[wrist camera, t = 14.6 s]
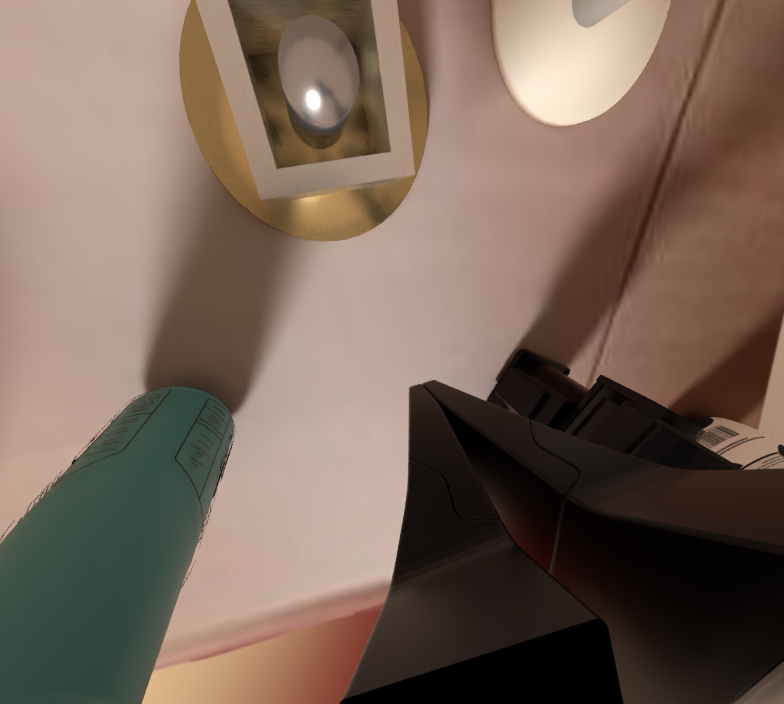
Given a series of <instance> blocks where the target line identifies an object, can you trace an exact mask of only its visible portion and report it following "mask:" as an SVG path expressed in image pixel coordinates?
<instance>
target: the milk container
mask: <svg viewBox="0 0 784 704" xmlns="http://www.w3.org/2000/svg"><path fill="white" fill-rule="evenodd" d="M690 422H691V423H693V424H695V425H696V426H698V427H699V428H701V429H703V430H704V431H705V432H707V434H706V435H705V436H704V437H703V438H702V439H701V440H700V441H699V443H700V444H702V445H704V446H705V447H707V448H709V449H710V450H712V451H714V452H715V453H717V454H719V455H721V456H722V457H724V458H726V459H727V460H729V461H731V462H732V463H734V464H736V465H737V466H738V467H740V468H741V469H742V470H744V469H778V468H784V446H783V445H782V444H780V443H779V442H777V441H776V440H774V439H773V438H771V437H769V436H768V435H765V434H764V433H762V432H760V431H758V430H755V429H753V428H751V427H748V426H746V425H743V424H740V423H737V422H734V421H731V420H728V419H724V418H717V417H704V418H699V419H696V420H692V421H690Z"/></svg>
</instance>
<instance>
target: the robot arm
mask: <svg viewBox="0 0 784 704" xmlns="http://www.w3.org/2000/svg"><path fill="white" fill-rule="evenodd" d="M523 355H524V356H523ZM569 373H570V369H569V368H568V367H566V366H564V365H561V364H559V363H557V362H554V361H552V360H550V359H547V358H545V357H543V356H540V355H538V354H536V353H533V352H531V351H529V350H526V349H521V350H520V351H519V352H518V354H517V355H516V357H515V358H514V360H513V362H512V363H511V365H510V366H509V368H508V370H507V371H506V373H505V374H504V376H503V377H502V379H501V381H500V382H499V384H498V385H497V387H496V389H495V390H494V392H493V393H492V395H491V397H490V398H489V400H488V401H484V400H482V399H480V398H477V397H475V396H472V395H470V394H467V393H465V392H462V391H460V390H458V389H455V388H453V387H450V386H448V385H445V384H443V383H441V382H438V381H436V380H432V381H429V382H425V383H423V384H418V385H415V386H411V387H410V388H409V453H408V460H409V462H408V486H407V495H406V503H405V510H404V516H403V522H402V528H401V534H400V539H399V545H398V551H397V557H396V562H395V567H394V572H393V576H392V581H391V584H390V588H389V591H388V595H387V598H386V600H385V602H384V605H383V607H382V609H381V612H380V614H379V616H378V619H377V621H376V623H375V626H374V628H373V630H372V633H371V635H370V637H369V640H368V642H367V644H366V647H365V649H364V651H363V654H362V656H361V658H360V661H359V663H358V665H357V668H356V670H355V672H354V674H353V677H352V679H351V681H350V684H349V686H348V688H347V691H346V692H345V694H344V696H343V698H342V700H341V702H340V704H784V468H778V469H744V470H742V469H741V468H740V467H738V466H737V465H736V464H734V463H732V462H731V461H729V460H727V459H726V458H724V457H722V456H721V455H719V454H717V453H715V452H714V451H712V450H710V449H709V448H707V447H705V446H704V445H702V444H700V443H699V441H700V440H701V439H702V438H703V437H704V436H705V435H706V434H707V432H705V431H704V430H703V429H701V428H699V427H698V426H696V425H695V424H693V423H691V422H690V421H688V420H686V419H685V418H683V417H681V416H680V415H678V414H676V413H674V412H672V411H671V410H669V409H667V408H665V407H664V406H662V405H660V404H658V403H656V402H654V401H652V400H651V399H649V398H647V397H645V396H643V395H641V394H639V393H637V392H635V391H633V390H631V389H629V388H627V387H625V386H623V385H621V384H619V383H617V382H615V381H613V380H611V379H609V378H607V377H605V376H603V375H600V376H599V377H598V378H597V380H596V381H597V382H596V383H595V384H594V385H593V386H592V388H591V389H590V390H589V389H587V388H586V387H584V386H582V385H581V384H579V383H578V382H576V381H574V380H573V379H571V378H570V377H568V375H569Z"/></svg>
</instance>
